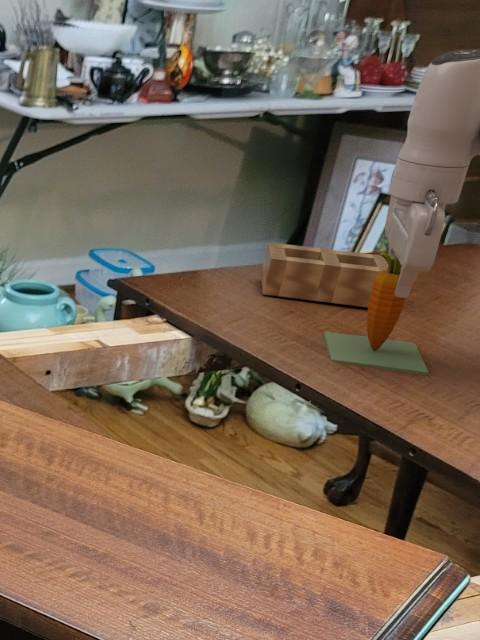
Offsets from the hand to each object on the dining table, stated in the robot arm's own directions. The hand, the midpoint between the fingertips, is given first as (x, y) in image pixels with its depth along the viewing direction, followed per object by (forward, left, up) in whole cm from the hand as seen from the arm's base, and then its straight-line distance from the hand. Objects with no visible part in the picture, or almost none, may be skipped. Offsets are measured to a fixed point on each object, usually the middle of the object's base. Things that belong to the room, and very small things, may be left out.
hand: (395, 286), depth 154 cm
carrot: (0, 0, -10) cm, 10 cm away
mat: (0, 0, -10) cm, 10 cm away
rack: (+5, -31, -10) cm, 33 cm away
